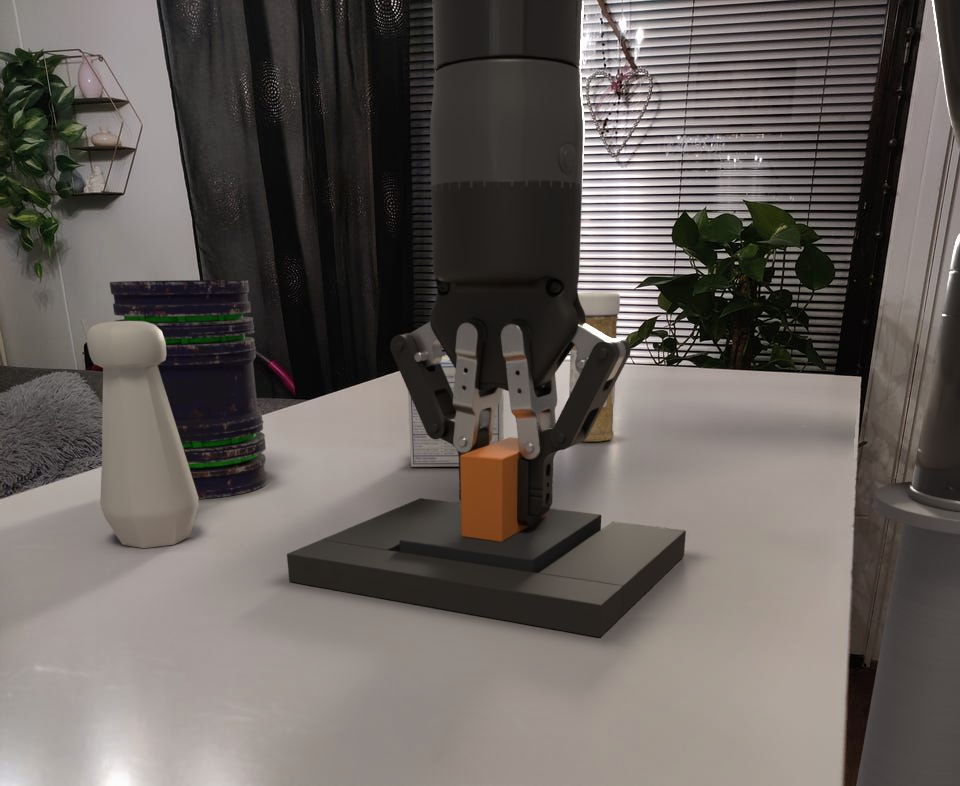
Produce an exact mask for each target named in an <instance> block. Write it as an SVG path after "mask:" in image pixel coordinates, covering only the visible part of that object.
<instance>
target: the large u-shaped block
mask: <svg viewBox="0 0 960 786" xmlns="http://www.w3.org/2000/svg"><path fill="white" fill-rule="evenodd" d="M460 511H461V502H455V501H448V500H440V499H439V500H438V499H430V498H423V497H422V498H421V497H420V498H418V499H414V500H413V501H410V502H408V503H406V504H403V505H400V506H398V507H396V508H394V509H391V510H389V511H386V512H384V513H381V514H378V515H377V516H375V517H372V518H370V519H367V520H365V521H362V522H360V523H357V524H355V525H353V526H350V527H348V528H346V529H343V530H341V531H338V532H336V533H334V534H331V535H329V536H326V537H324V538H322V539H319V540H317V541H313V542H312V543H309V544H307V545H305V546H303V547H300V548H297V549H295V550H292V551H291V552H287V554H286V562H287V571H288V580H289V581H288V582H290V583H296V584H301V585H306V586H307V585H308V586H313V587H319V588H323V589H330V590H335V591H341V592H345V593H351V594H357V595H363V596H368V597H373V598H380V599H386V600H391V601H395V602H401V603H407V604H413V605H418V606H424V607H430V608H433V609H434V608H435V609H439V610H446V611H450V612H455V613H462V614H467V615H474V616H478V617H479V616H480V617H484V618H489V619H490V618H491V619H495V620H501V621H506V622H511V623H512V622H513V623H517V624H518V623H519V624H523V625H528V626H535V627H540V628H545V629H551V630H556V631H563V632H569V633H574V634H578V635H579V634H580V635H585V636H590V637H595V638H601V637H602V636H603V635H604V634H606V632H607V631H608V630H609V629H611V627H612V626H614V624H616V623H617V622H618V621H619V620H620V619H621V618H622V617H623V616H624V615H625V614H626V613H627V612H628V611H629V610H630V609H631V608H632V607H633V606H634V605H635V604H636V603H637V602H638V601H639V600H641V598H642V597H643V596H644V595H645V594H647V592H649V591H650V590H651V588H652V587H654V586H655V585H656V584H657V583H658V582H659V581H660V580H661V579H662V578H663V577H664V576H665V575H666V574H667V573H668V572H669V571H670V570H671V569H672V568H673V567H674V566H675V565H676V564H677V563H679V561H680V560H682V559H683V558H684V556H685V549H686V548H685V547H686V535H687V531H686V530H685V529H679V528H671V527H670V528H669V527H662V526H655V525H654V526H653V525H646V524H636V523H629V522H620V521H612V522H610V523H609V524H607V525H606V526H604V527H603V528H601V530H600V531H599V532H597V533H596V534H594V535H593V536H591V537H590V538H588V539H587V540H586V541H584V542H583V543H581V544H580V545H578V546H577V547H575V548H574V549H573V550H571V551H570V552H568V553H567V554H565V555H564V556H562V557H561V558H560V559H558V560H557V561H555V562H554V563H552V564H551V565H550V566H548V567H547V568H545V569H544V570H542V571H541V572H539V573H533V572H527V571H520V570H514V569H507V568H500V567H494V566H487V565H481V564H474V563H468V562H461V561H455V560H448V559H441V558H435V557H428V556H422V555H415V554H409V553H402V552H400V540H401V539H403V538H405V537H407V536H410V535H412V534H414V533H416V532H418V531H420V530H422V529H424V528H426V527H429V526H431V525H433V524H435V523H437V522H439V521H441V520H443V519H445V518H448V517H450V516H452V515H454V514H456V513H458V512H460Z"/></svg>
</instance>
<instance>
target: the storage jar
mask: <svg viewBox="0 0 960 786" xmlns="http://www.w3.org/2000/svg"><path fill="white" fill-rule="evenodd" d="M109 288H110V294H111V295H113V301H114V303H113V304H112V308H113V314H114V316H120V317H123V318H122V319H115V320H113V322H115V321H143V322H148V323H151V324H154V325H156V326H157V327H158V328H159V329H160V330H161V331H162V333H163V336H164V340H165V343H166V359H165V361H163V362H162V363H160V364H158V365H157V366H158V369H159V372H160V375H161V378H162V382H163V385H164V388H165V391H166V395H167V398H168V401H169V404H170V408H171V411H172V414H173V417H174V420H175V424H176V427H177V430H178V433H179V437H180V440H181V443H182V446H183V449H184V453H185V456H186V459H187V462H188V466H189V469H190V472H191V475H192V478H193V482H194V485H195V488H196V491H197V495H198V500H202V499H203V500H204V499H215V498H223V497H225V498H226V497H230V496H237V495H241V494H246V493H249V492H253V491H256V490H259V489H261V488H263V487H265V486H266V485H267V484H268V473H267V472H266V470H265V463H266V461H267V459H266V455H265V454H264V453H263V452H265V451H266V449H267V446H266V435H265V433H263V430H264V420H263V414H262V412H261V411H260V409H259V407H258V401H257V400H258V399H257V390H256V389H257V388H256V381H255V379H256V378H255V369H254V361H255V359H256V357H257V355H256V354H257V353H256V350H257V347H256V344H255V338H254V337H252V336H246V335H252V334H254V333H255V330H254V329H255V323H254V317H251V316H244V314H248V313H251V312H252V307H251V301H250V300H249V297H248V293H249V292H250V287H249V280H247V279H204V280H203V279H200V280H199V279H196V280H195V279H191V280H188V279H187V280H185V279H183V280H181V279H180V280H179V279H177V280H127V281H125V280H123V281H122V280H121V281H109Z"/></svg>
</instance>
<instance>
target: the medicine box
mask: <svg viewBox="0 0 960 786" xmlns="http://www.w3.org/2000/svg"><path fill="white" fill-rule="evenodd" d="M440 364H441V366H442V368H443V371H444V373H445V376H446V378H447V380H448V383H449V385H450V387H451V390H452V392H453V393H454V383H455V372H456V369H455V367H454V365H453V364H452V362H451V361H450V359H449V357H448V356H442V360H441V362H440ZM407 393H408V423H409V441H410V442H409V443H410V444H409V445H410V466H411V467H412V468H438V467H440V468H442V467H445V468H446V467H447V468H448V467H449V468H450V467H451V468H453V467H455V468H456V467H458V468H459V455H458V451H457V450H456V448H455V447H454V446H453V445H452V444H450V443H448V442H446V441H444V440H442V439H441V438H440V439H432V438H430V437H429V436H428V435H427V433H426V430H425V428H424V426H423V424H422V421H421V419H420V417H419V414H418V412H417V410H416V407H415V405H414V403H413V400H412V398H411V396H410V394H409V391H408V390H407ZM504 393H505V390H504V389H502V390H501V398H500V402H499V404H498V406H497V407H496V410H495V417H494V426H493V435H492V440H491V442H490V443H489V445H490V444H493V443H495V442H498V441H501V440H504V439H505V433H504V431H505V428H504V427H505V426H504V425H505V421H504V420H505V415H504V414H505V412H504V411H505V408H504V407H505V399H504V398H505V395H504Z"/></svg>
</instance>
